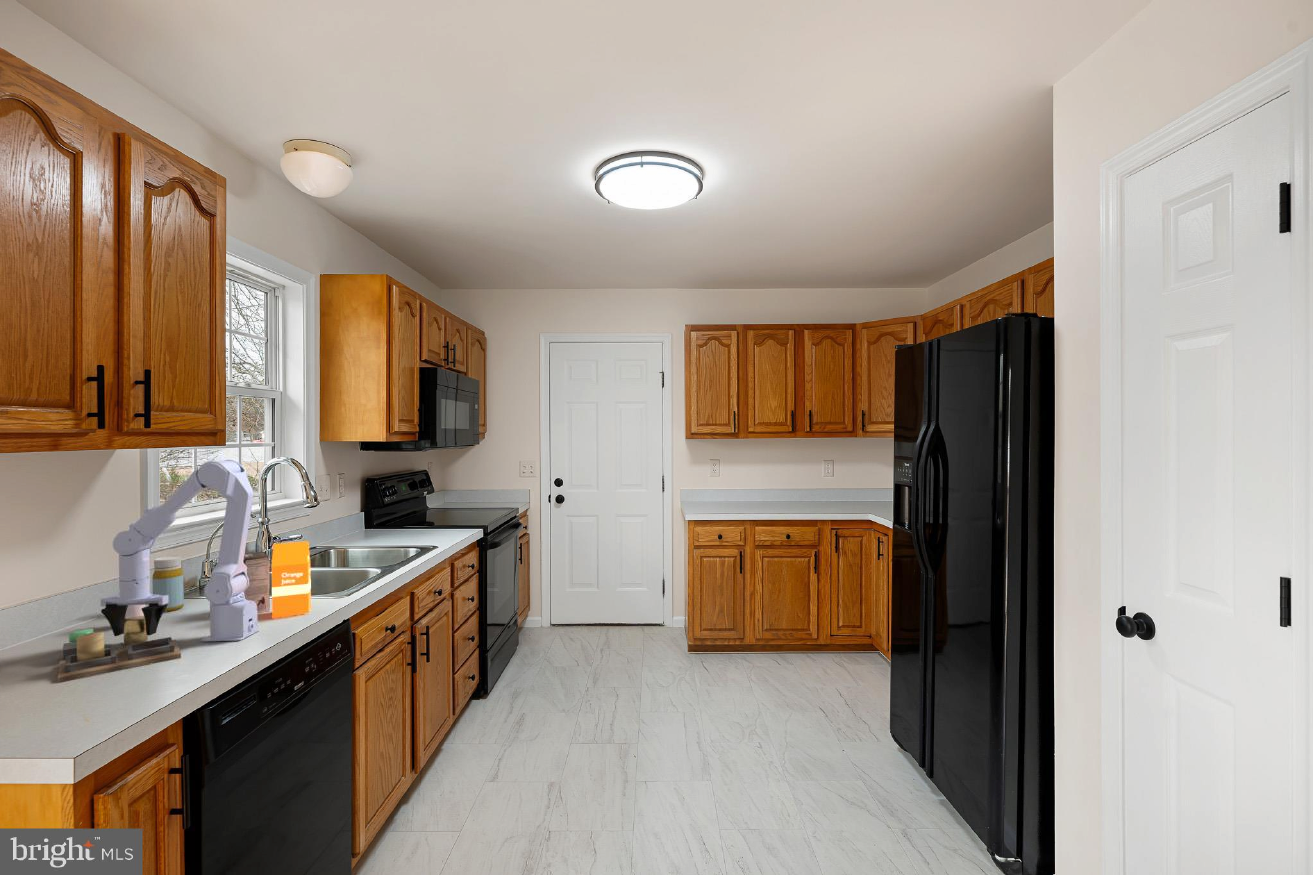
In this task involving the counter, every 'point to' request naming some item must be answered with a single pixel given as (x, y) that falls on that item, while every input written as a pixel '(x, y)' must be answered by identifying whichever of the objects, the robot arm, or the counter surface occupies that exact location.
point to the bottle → (169, 581)
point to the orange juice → (291, 579)
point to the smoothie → (134, 610)
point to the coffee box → (258, 580)
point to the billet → (134, 630)
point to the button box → (69, 649)
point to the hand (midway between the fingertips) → (135, 634)
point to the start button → (78, 634)
